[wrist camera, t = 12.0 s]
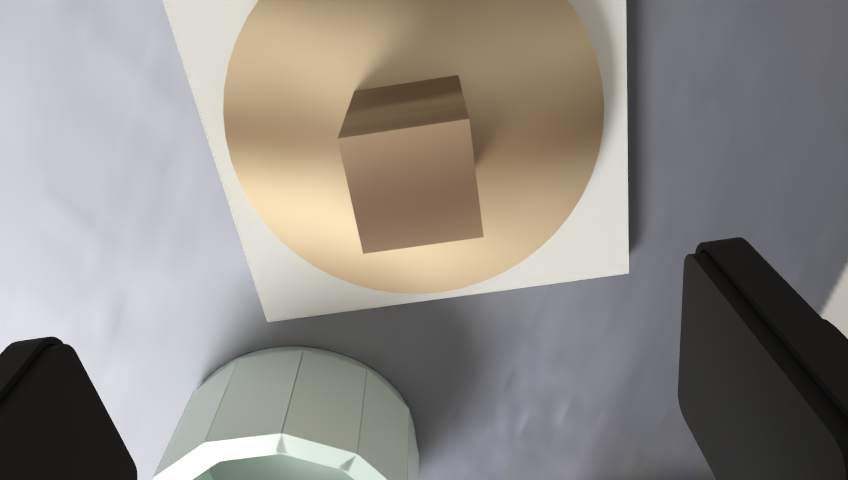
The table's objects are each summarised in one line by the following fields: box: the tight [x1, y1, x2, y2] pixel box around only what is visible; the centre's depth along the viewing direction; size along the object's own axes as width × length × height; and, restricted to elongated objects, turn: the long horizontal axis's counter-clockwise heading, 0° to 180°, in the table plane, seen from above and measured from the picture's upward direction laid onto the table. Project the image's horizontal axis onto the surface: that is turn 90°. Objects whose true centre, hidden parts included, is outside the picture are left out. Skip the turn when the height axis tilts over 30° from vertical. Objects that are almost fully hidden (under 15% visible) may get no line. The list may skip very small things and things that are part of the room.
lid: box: [223, 0, 604, 294], centre depth 20 cm, size 13×13×6 cm
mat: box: [163, 0, 629, 322], centre depth 23 cm, size 15×15×1 cm
